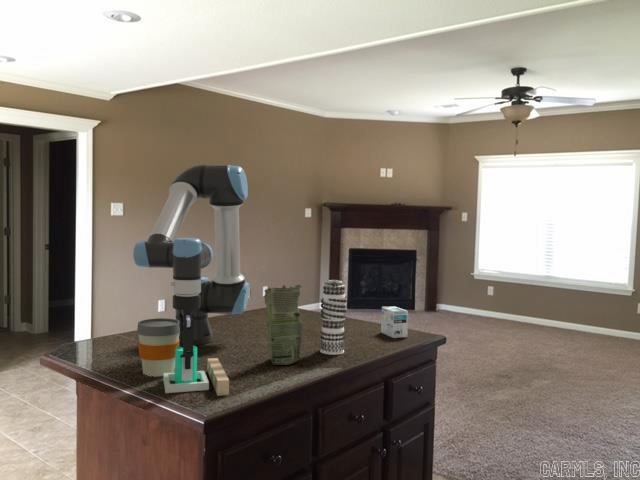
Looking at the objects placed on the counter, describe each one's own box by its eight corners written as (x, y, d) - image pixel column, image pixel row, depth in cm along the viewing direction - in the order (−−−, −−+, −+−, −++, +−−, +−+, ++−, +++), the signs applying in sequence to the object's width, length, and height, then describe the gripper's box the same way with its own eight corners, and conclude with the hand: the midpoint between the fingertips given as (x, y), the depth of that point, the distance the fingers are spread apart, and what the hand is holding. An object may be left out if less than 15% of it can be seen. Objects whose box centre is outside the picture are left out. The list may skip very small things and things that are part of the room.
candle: (198, 381, 157) (199, 340, 157) (194, 388, 151) (195, 345, 151) (177, 381, 157) (177, 339, 156) (172, 388, 151) (173, 345, 150)
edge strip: (207, 371, 167) (207, 358, 167) (217, 371, 168) (217, 358, 168) (217, 395, 146) (217, 380, 146) (228, 394, 147) (229, 380, 147)
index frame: (163, 380, 158) (163, 373, 158) (204, 377, 162) (204, 370, 162) (165, 393, 147) (165, 385, 147) (208, 389, 151) (209, 382, 151)
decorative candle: (350, 351, 196) (352, 280, 194) (336, 356, 188) (338, 283, 187) (328, 346, 201) (330, 278, 200) (314, 351, 193) (316, 280, 192)
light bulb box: (408, 337, 219) (408, 310, 219) (393, 338, 217) (393, 311, 216) (394, 331, 229) (395, 305, 229) (380, 332, 227) (381, 306, 226)
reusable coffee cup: (188, 372, 166) (189, 322, 165) (151, 381, 157) (151, 328, 156) (165, 363, 174) (165, 316, 174) (128, 371, 165) (128, 321, 164)
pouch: (261, 365, 176) (263, 286, 174) (270, 355, 187) (271, 281, 186) (296, 367, 174) (298, 288, 173) (302, 357, 186) (304, 283, 184)
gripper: (170, 288, 162) (169, 366, 163) (175, 300, 142) (174, 388, 143) (196, 288, 164) (195, 364, 165) (204, 299, 144) (203, 386, 146)
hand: (185, 375), depth 154 cm, fingers open, 8 cm apart
